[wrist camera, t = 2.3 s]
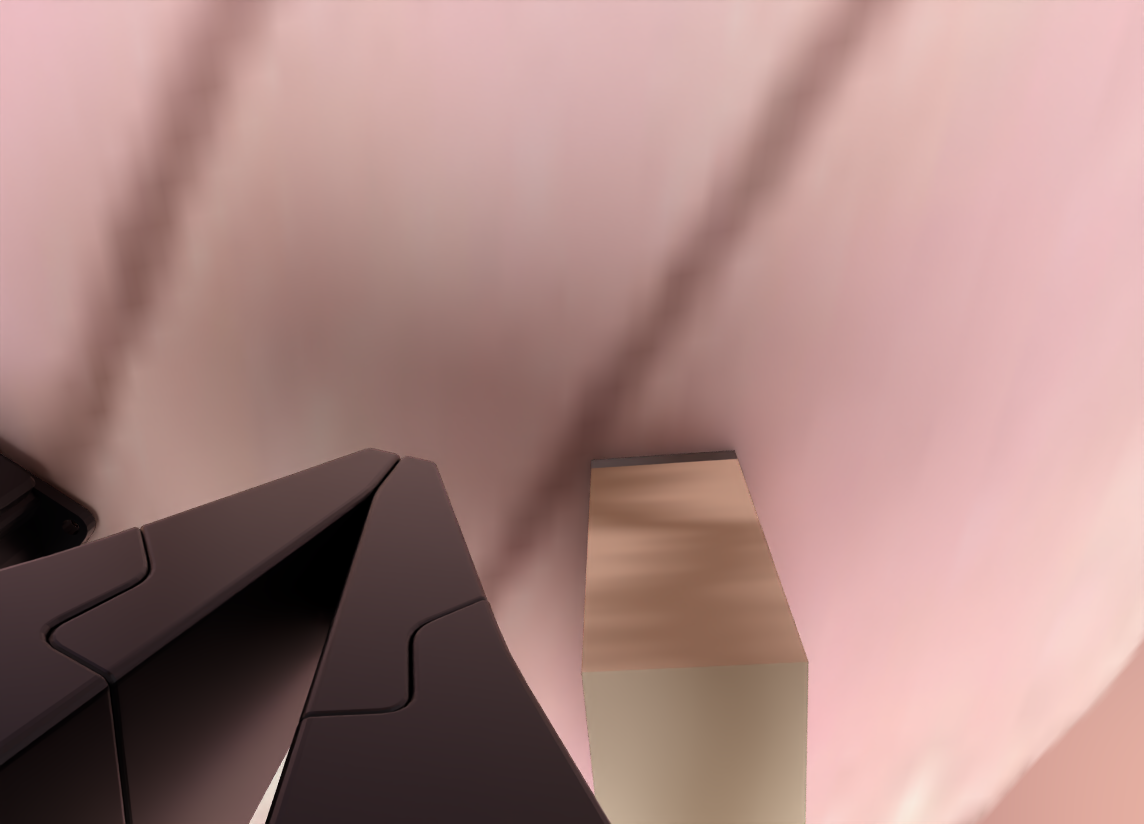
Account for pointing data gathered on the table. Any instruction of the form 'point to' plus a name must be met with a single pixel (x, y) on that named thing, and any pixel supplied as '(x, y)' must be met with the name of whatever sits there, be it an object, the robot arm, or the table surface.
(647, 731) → the marked block
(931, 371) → the table surface
